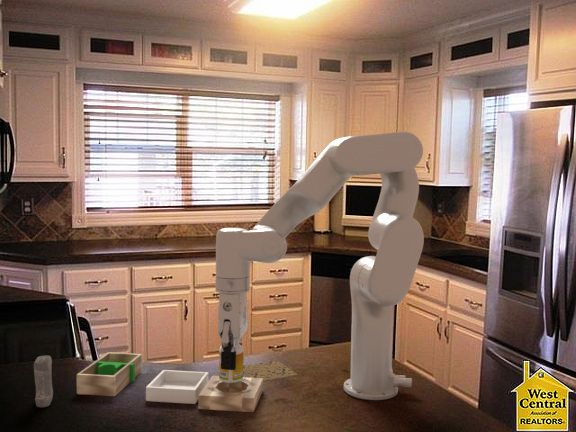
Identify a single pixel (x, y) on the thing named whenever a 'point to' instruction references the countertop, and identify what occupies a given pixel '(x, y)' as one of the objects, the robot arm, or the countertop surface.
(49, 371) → the stone
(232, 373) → the supplement bottle
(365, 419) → the countertop surface
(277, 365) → the speckled tile
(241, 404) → the plate
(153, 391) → the tray
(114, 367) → the pipe clamp
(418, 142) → the robot arm
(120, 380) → the parts corral
